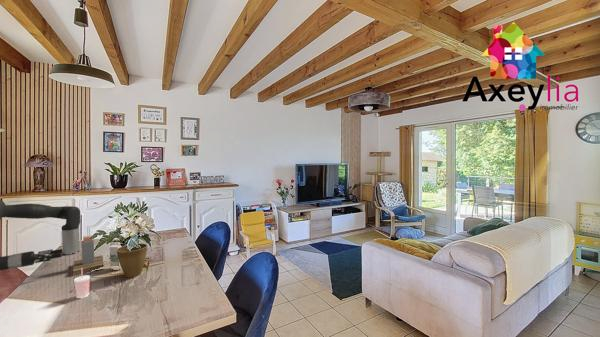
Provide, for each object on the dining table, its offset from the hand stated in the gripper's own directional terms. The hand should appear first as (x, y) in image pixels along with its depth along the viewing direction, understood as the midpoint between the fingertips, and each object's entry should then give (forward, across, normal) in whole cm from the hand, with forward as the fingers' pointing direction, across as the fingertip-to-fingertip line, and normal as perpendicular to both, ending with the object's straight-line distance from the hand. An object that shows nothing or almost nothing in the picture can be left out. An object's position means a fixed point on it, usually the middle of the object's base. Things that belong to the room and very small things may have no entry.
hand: (61, 252), depth 153 cm
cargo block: (+12, 0, -3) cm, 12 cm away
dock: (+12, 0, +12) cm, 17 cm away
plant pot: (+32, -30, +12) cm, 46 cm away
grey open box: (+12, 0, +9) cm, 15 cm away
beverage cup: (+10, -42, +12) cm, 45 cm away
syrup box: (+26, -14, +12) cm, 32 cm away
